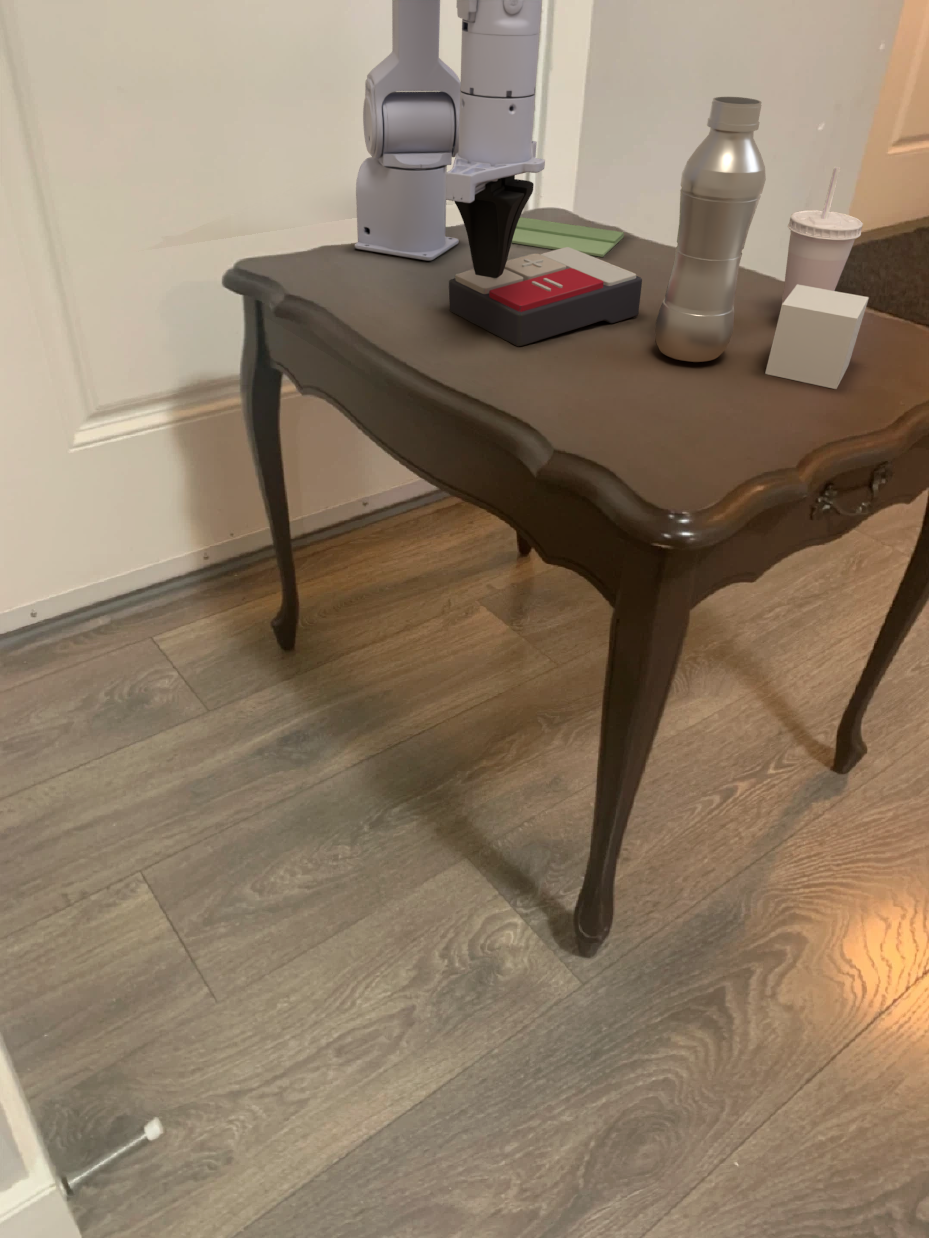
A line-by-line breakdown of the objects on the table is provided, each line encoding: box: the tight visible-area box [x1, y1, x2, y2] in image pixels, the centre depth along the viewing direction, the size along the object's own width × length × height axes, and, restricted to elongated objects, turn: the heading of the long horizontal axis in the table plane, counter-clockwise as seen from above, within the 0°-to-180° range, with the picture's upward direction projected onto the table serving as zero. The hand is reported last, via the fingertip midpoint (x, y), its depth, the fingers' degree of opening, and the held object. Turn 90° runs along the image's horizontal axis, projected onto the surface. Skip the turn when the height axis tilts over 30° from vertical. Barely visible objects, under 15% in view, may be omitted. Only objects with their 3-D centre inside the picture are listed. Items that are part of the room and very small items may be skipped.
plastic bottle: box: [654, 96, 767, 363], centre depth 76 cm, size 6×7×20 cm
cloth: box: [511, 216, 625, 258], centre depth 110 cm, size 14×9×1 cm, turn 67°
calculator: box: [448, 247, 643, 347], centre depth 88 cm, size 11×4×15 cm
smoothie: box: [781, 166, 864, 305], centre depth 85 cm, size 6×6×14 cm
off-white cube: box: [764, 284, 870, 390], centre depth 79 cm, size 6×6×6 cm
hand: (488, 274), depth 79 cm, fingers closed
